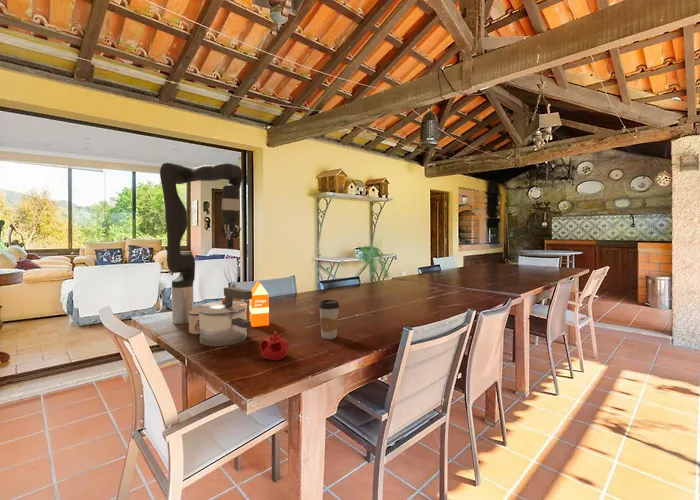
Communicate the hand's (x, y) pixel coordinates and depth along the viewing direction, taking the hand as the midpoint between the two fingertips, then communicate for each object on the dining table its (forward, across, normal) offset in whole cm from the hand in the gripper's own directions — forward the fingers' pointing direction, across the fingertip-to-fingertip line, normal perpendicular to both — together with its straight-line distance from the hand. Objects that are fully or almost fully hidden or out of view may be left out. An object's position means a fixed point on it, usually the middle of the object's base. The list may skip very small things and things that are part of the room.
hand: (230, 247), depth 156 cm
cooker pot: (+36, +18, -11) cm, 42 cm away
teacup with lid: (+37, -3, -11) cm, 38 cm away
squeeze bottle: (+37, -9, +8) cm, 39 cm away
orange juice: (+36, +6, +12) cm, 39 cm away
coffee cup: (+35, +45, +18) cm, 60 cm away
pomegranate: (+35, +46, -11) cm, 59 cm away
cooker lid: (+24, +17, -11) cm, 31 cm away
